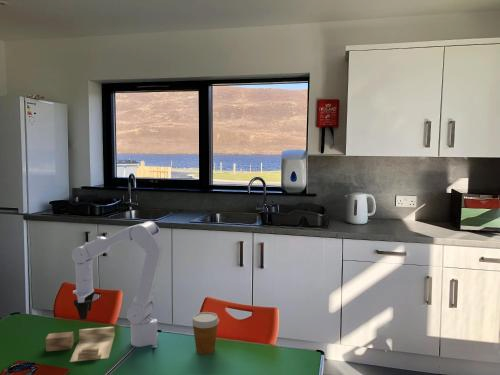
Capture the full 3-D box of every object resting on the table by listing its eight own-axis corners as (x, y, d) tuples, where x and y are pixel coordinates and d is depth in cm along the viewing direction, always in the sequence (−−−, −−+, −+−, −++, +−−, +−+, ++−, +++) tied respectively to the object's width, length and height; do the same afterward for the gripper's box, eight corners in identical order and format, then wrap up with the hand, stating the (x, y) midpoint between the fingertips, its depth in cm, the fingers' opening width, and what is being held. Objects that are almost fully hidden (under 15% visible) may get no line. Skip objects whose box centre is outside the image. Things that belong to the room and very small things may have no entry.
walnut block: (73, 345, 141) (73, 331, 141) (71, 350, 137) (70, 336, 137) (49, 347, 140) (48, 333, 139) (46, 353, 136) (45, 338, 135)
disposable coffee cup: (186, 353, 137) (185, 319, 136) (201, 341, 145) (201, 309, 144) (209, 359, 132) (209, 324, 131) (224, 347, 141) (224, 314, 140)
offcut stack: (101, 355, 133) (101, 345, 133) (100, 358, 131) (100, 348, 131) (79, 357, 131) (78, 348, 131) (77, 360, 130) (77, 350, 129)
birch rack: (114, 338, 148) (114, 326, 147) (108, 360, 131) (108, 347, 131) (79, 341, 145) (79, 329, 145) (69, 364, 129) (69, 351, 129)
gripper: (76, 273, 151) (77, 308, 152) (67, 285, 137) (69, 324, 138) (96, 272, 152) (97, 306, 153) (89, 284, 138) (90, 322, 139)
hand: (85, 314), depth 146 cm, fingers open, 7 cm apart
